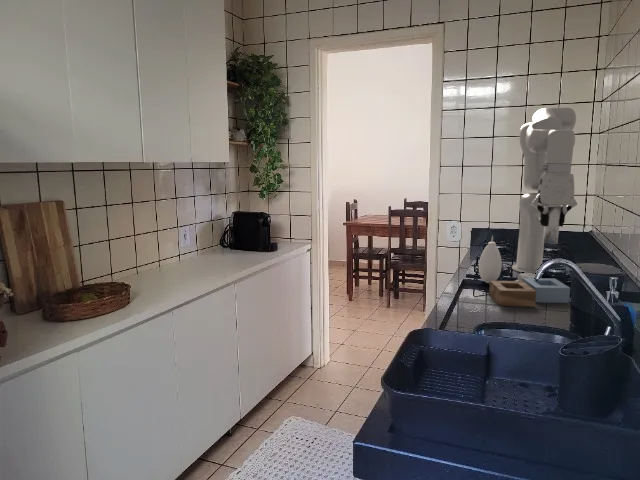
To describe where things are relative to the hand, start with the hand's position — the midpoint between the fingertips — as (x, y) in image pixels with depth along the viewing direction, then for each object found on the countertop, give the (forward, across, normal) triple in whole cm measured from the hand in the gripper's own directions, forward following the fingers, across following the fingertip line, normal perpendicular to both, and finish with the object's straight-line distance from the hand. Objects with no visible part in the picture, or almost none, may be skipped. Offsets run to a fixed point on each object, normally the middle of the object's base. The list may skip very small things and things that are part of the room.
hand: (551, 225), depth 152 cm
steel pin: (+6, 0, 0) cm, 6 cm away
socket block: (+25, 0, 0) cm, 25 cm away
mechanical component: (+25, 0, +12) cm, 28 cm away
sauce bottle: (+25, -14, +16) cm, 33 cm away
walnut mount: (+25, -12, -4) cm, 28 cm away
